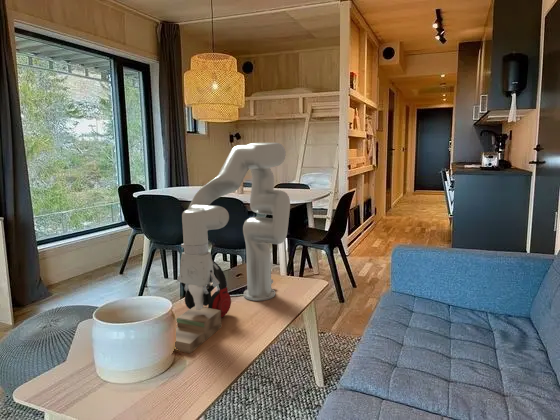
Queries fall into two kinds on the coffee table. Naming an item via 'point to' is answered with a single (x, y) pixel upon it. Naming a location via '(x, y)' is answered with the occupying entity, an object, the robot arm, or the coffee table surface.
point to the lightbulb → (197, 295)
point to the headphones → (217, 293)
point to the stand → (196, 327)
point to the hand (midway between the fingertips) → (199, 302)
